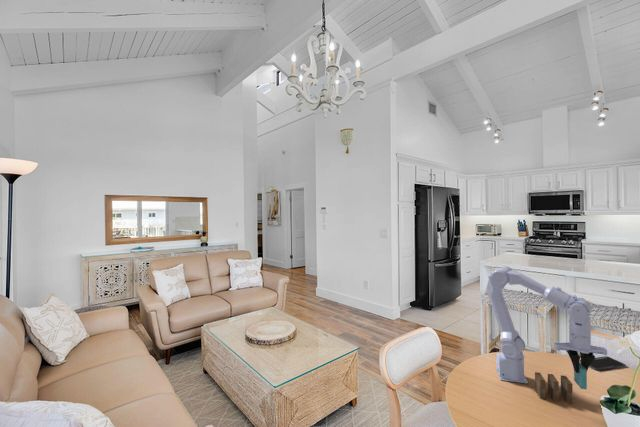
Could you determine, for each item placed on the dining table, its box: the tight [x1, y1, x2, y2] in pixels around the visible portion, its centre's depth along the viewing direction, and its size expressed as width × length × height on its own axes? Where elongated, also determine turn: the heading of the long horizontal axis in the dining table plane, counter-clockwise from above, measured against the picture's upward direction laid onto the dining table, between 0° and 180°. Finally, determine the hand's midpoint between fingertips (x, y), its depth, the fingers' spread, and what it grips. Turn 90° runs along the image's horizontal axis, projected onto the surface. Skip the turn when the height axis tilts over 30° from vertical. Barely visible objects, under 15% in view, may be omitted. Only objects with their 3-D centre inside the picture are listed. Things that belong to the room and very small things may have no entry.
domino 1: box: [534, 371, 546, 400], centre depth 110 cm, size 2×5×7 cm, turn 161°
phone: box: [579, 355, 627, 372], centre depth 128 cm, size 8×1×15 cm
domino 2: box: [547, 373, 560, 402], centre depth 109 cm, size 2×5×7 cm, turn 161°
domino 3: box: [560, 375, 574, 405], centre depth 108 cm, size 2×5×7 cm, turn 161°
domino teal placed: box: [573, 361, 588, 391], centre depth 106 cm, size 2×5×7 cm, turn 161°
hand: (580, 371), depth 106 cm, fingers closed on domino teal placed, 1 cm apart
